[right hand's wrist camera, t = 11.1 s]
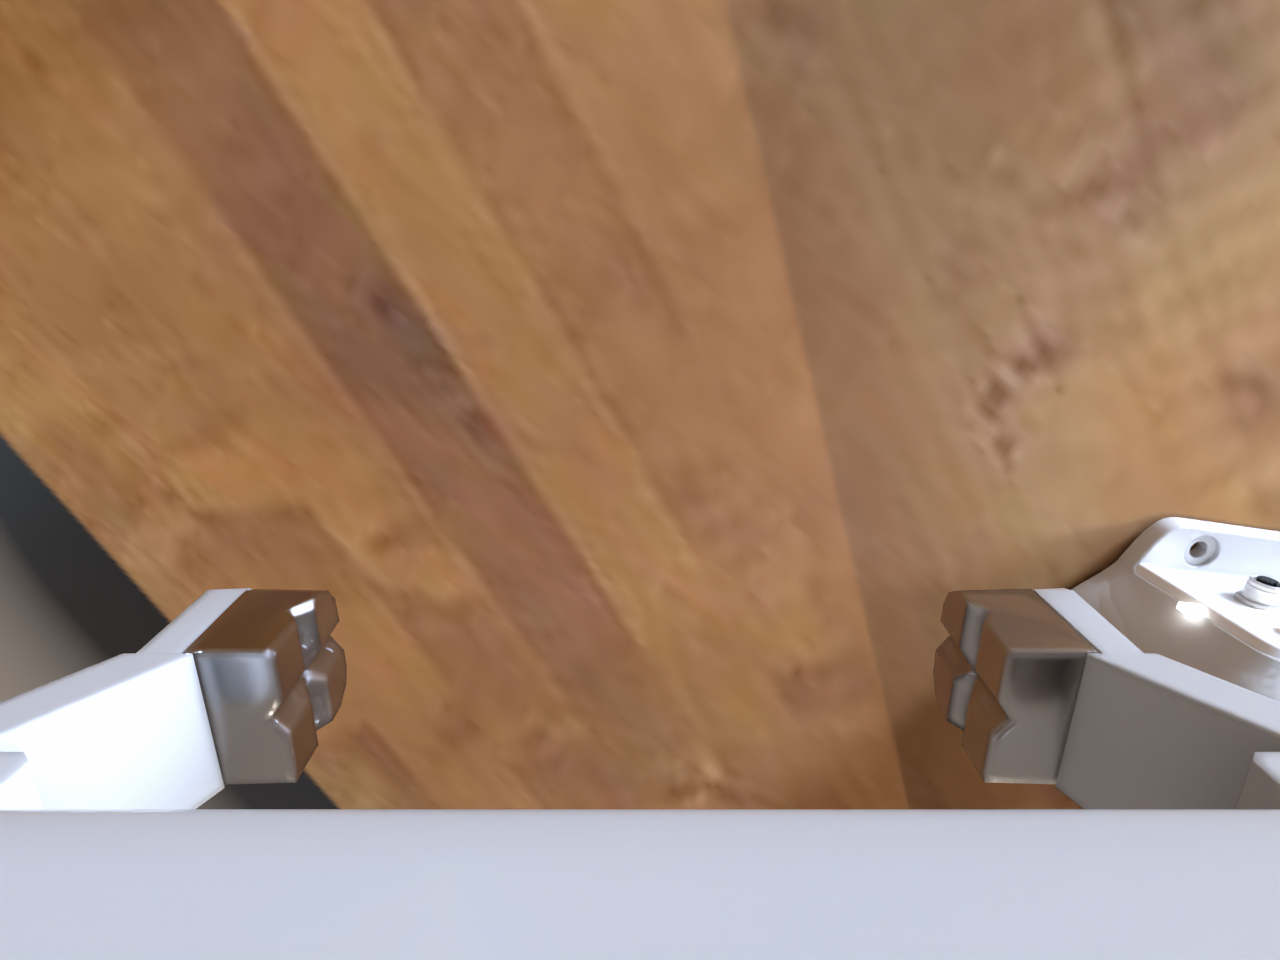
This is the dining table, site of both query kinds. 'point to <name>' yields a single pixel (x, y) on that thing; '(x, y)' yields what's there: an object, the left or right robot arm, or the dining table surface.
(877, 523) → the dining table surface
